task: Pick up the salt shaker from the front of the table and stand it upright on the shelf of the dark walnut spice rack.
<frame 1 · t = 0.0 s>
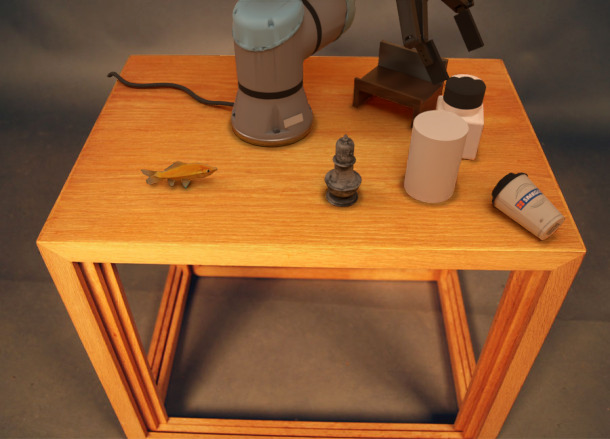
hand: (459, 64, 91), 15 cm above the table, tool tilted 35°, fingers open, 13 cm apart
coffee cup: (554, 229, 82), point 2 cm above the table
container: (452, 146, 101), on the table
beige cylinder: (428, 187, 93), on the table
spice rack: (396, 106, 111), on the table
salt shaker: (341, 197, 91), on the table
fish: (182, 186, 93), on the table
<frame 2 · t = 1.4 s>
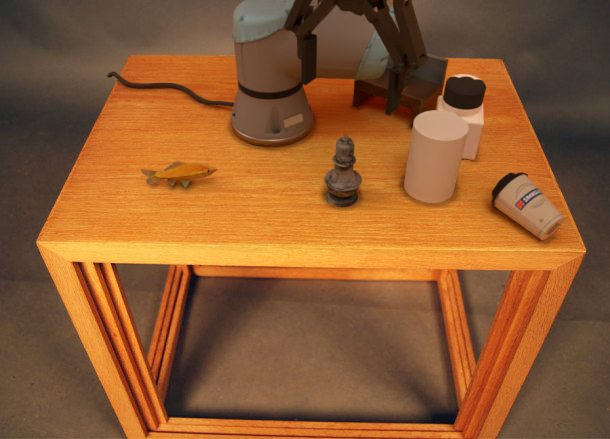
hand: (349, 95, 78), 18 cm above the table, tool pointing down, fingers open, 13 cm apart
nothing on the table moved.
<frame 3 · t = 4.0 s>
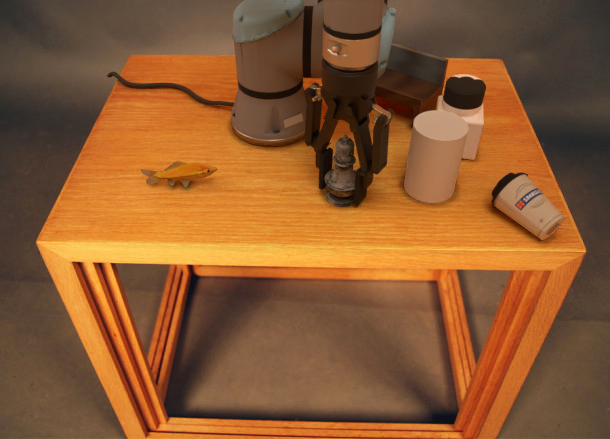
hand: (342, 192, 90), 1 cm above the table, tool pointing down, fingers closed on salt shaker, 6 cm apart
salt shaker: (342, 197, 91), on the table, touching gripper
everything else where it was.
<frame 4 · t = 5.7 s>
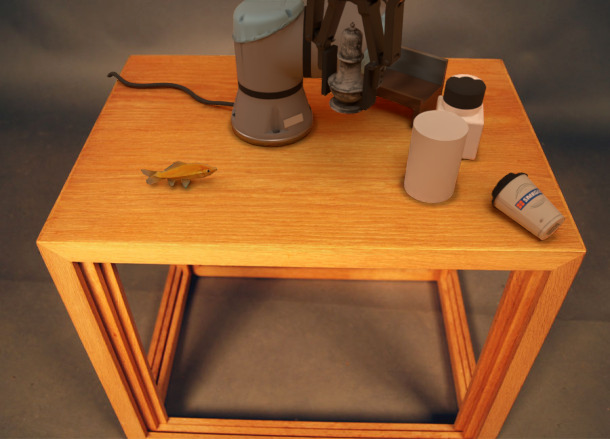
hand: (348, 98, 79), 18 cm above the table, tool pointing down, fingers closed on salt shaker, 6 cm apart
salt shaker: (347, 105, 80), point 17 cm above the table, touching gripper
everything else where it was.
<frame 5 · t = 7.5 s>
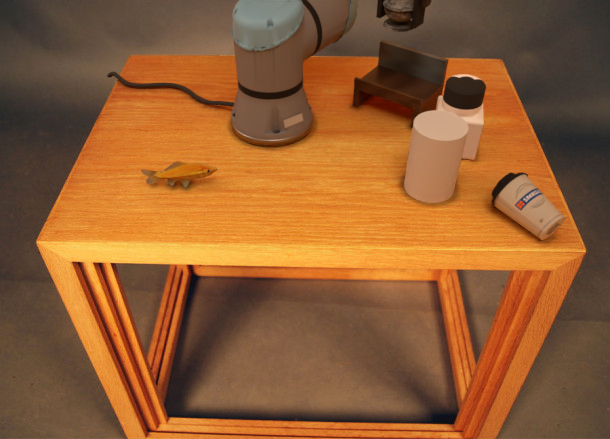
hand: (399, 19, 93), 20 cm above the table, tool pointing down, fingers closed on salt shaker, 6 cm apart
salt shaker: (398, 26, 93), point 19 cm above the table, touching gripper
everything else where it was.
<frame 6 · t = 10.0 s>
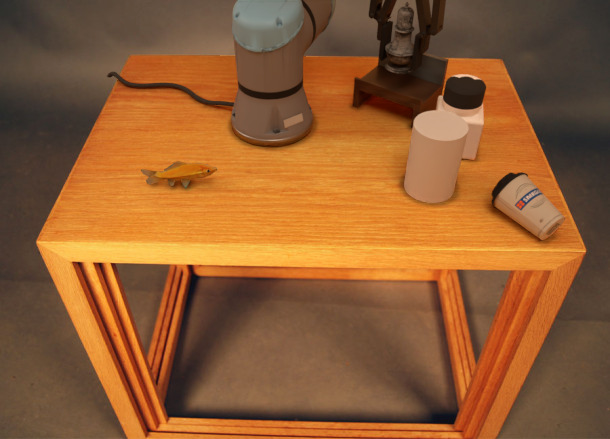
hand: (399, 62, 103), 10 cm above the table, tool pointing down, fingers closed on salt shaker, 6 cm apart
salt shaker: (399, 67, 104), point 9 cm above the table, touching gripper
everything else where it was.
when the fingers open (6 cm above the table, at t = 11.4 s): salt shaker stays where it is, resting on spice rack.
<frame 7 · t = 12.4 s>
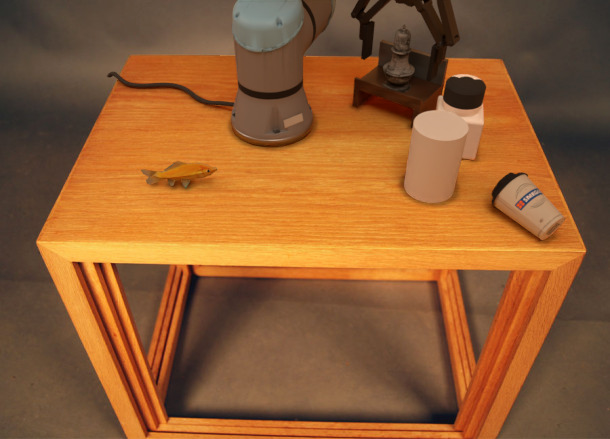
hand: (398, 67, 104), 9 cm above the table, tool pointing down, fingers open, 13 cm apart
salt shaker: (396, 86, 107), point 5 cm above the table, touching spice rack
everything else where it was.
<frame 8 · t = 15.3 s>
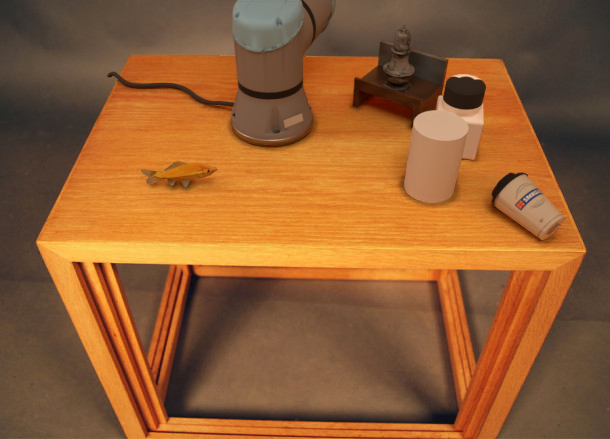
nothing on the table moved.
at the end: salt shaker inside the target area on the spice rack (1.0 cm from its centre), point 4.8 cm above the spice rack's base; salt shaker tilted 0°; the gripper is holding nothing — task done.
